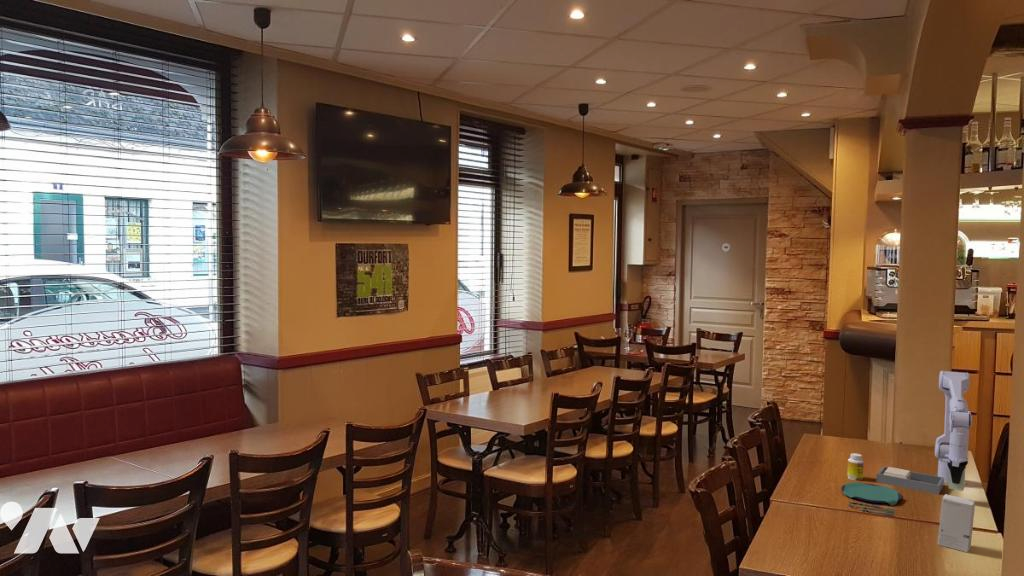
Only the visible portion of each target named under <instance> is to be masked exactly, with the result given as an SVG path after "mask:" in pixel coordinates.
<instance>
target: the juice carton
mask: <svg viewBox="0 0 1024 576" xmlns="http://www.w3.org/2000/svg"><path fill="white" fill-rule="evenodd" d="M966 468H967V467H966ZM966 468H965V469H964V471H963V473H962V476H961V480H960V483H959V484H955V483H952V479H951V473H950V472H949V483H948V489H949V490H955V491H961V492H963V491H964V490H965V482H966V480H965V479H966Z"/></svg>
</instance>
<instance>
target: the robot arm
mask: <svg viewBox="0 0 1024 576" xmlns="http://www.w3.org/2000/svg"><path fill="white" fill-rule="evenodd" d="M970 385H971V375H970V373H969V372H959V371H945V370H941V371H939V375H938V389H939V391H940V392H942V393H943V394H944V397H945V398H944V399H945V400H944V401H945V406H944V424H943V425H944V426H943V427H944V428H943V430H944V431H943V434H941V435H940V436H938V437H936V439H935V444H934V456H935V457H936V458H937V459H938V465H937V476H938V477H944V484H949V472H950V473H951V479H952V483H955V484H959V483H960V480H961V476H962V473H963V471H964V469H965V468H967V465H968V463H969V457H968V456H969V440H970V439H969V437H970V430H971V428H972V422H973V420H972V419H973V417H972V413H971V411H969V405H968V401H967V399H965V398H964V394H966V393H967V392H968V390H969V388H970ZM965 470H966V469H965Z"/></svg>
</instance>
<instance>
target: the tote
mask: <svg viewBox="0 0 1024 576" xmlns="http://www.w3.org/2000/svg"><path fill="white" fill-rule="evenodd" d="M888 467H889V466H884V465H883V466H882V467H881V468H880V470H878V471H877V473H876V476H875V477H876V478H875V479H876V483H879V484H884V485H889V486H892V487H893V486H894V487H899V488H904V489H908V490H915V491H918V492H924V493H929V494H935V495H940V494H941V492H942V489H943V488H944V487H945V486H944V484H945V483H944V477H938V475H932V474H928V473H927V474H926V473H921V472H917V471H911V470H909V471H910V473H911V479H910V480H909V479H904V478H898V477H893V476H888V475H883V474H884V473H885V471H886V470H887V468H888Z"/></svg>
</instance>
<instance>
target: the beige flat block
mask: <svg viewBox="0 0 1024 576" xmlns="http://www.w3.org/2000/svg"><path fill="white" fill-rule="evenodd" d="M887 467H888V468H887V470H886V471H885V473H884V474H883V475H888V476H893V477H898V478H904V479H909V480H910V479H911V473H910V471H911V470H908V469H902V468H897V467H891V466H887Z"/></svg>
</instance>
